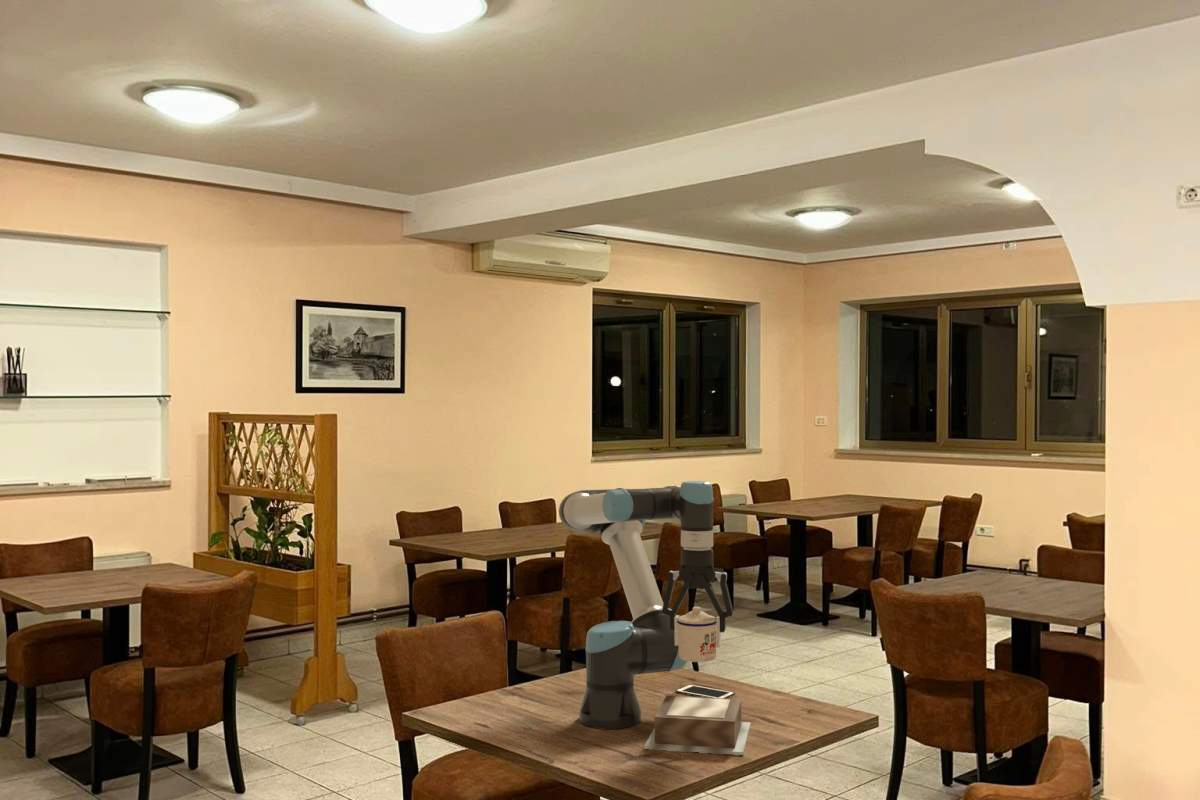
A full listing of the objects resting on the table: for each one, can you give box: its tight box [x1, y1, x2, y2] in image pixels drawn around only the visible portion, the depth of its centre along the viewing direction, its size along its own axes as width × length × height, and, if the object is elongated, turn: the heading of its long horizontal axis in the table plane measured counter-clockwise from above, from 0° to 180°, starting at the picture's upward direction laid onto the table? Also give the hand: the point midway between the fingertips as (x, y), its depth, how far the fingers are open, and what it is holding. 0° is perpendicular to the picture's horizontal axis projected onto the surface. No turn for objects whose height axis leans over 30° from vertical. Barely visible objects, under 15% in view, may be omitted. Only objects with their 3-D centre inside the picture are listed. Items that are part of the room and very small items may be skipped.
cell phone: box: [675, 684, 736, 699], centre depth 280 cm, size 8×15×1 cm, turn 53°
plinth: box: [643, 694, 752, 756], centre depth 244 cm, size 22×22×7 cm
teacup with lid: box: [677, 606, 717, 663], centre depth 243 cm, size 12×9×12 cm
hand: (697, 645), depth 244 cm, fingers closed on teacup with lid, 9 cm apart
